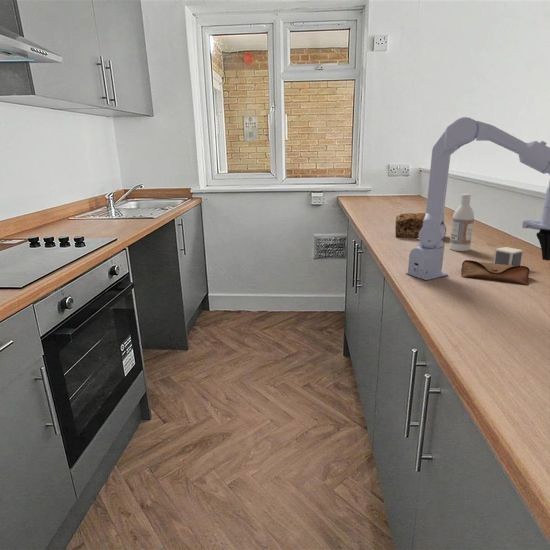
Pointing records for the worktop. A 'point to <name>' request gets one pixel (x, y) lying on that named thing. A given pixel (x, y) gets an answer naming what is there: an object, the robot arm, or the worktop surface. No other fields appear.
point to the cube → (508, 256)
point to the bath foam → (462, 225)
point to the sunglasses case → (495, 272)
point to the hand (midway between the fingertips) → (547, 259)
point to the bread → (409, 225)
